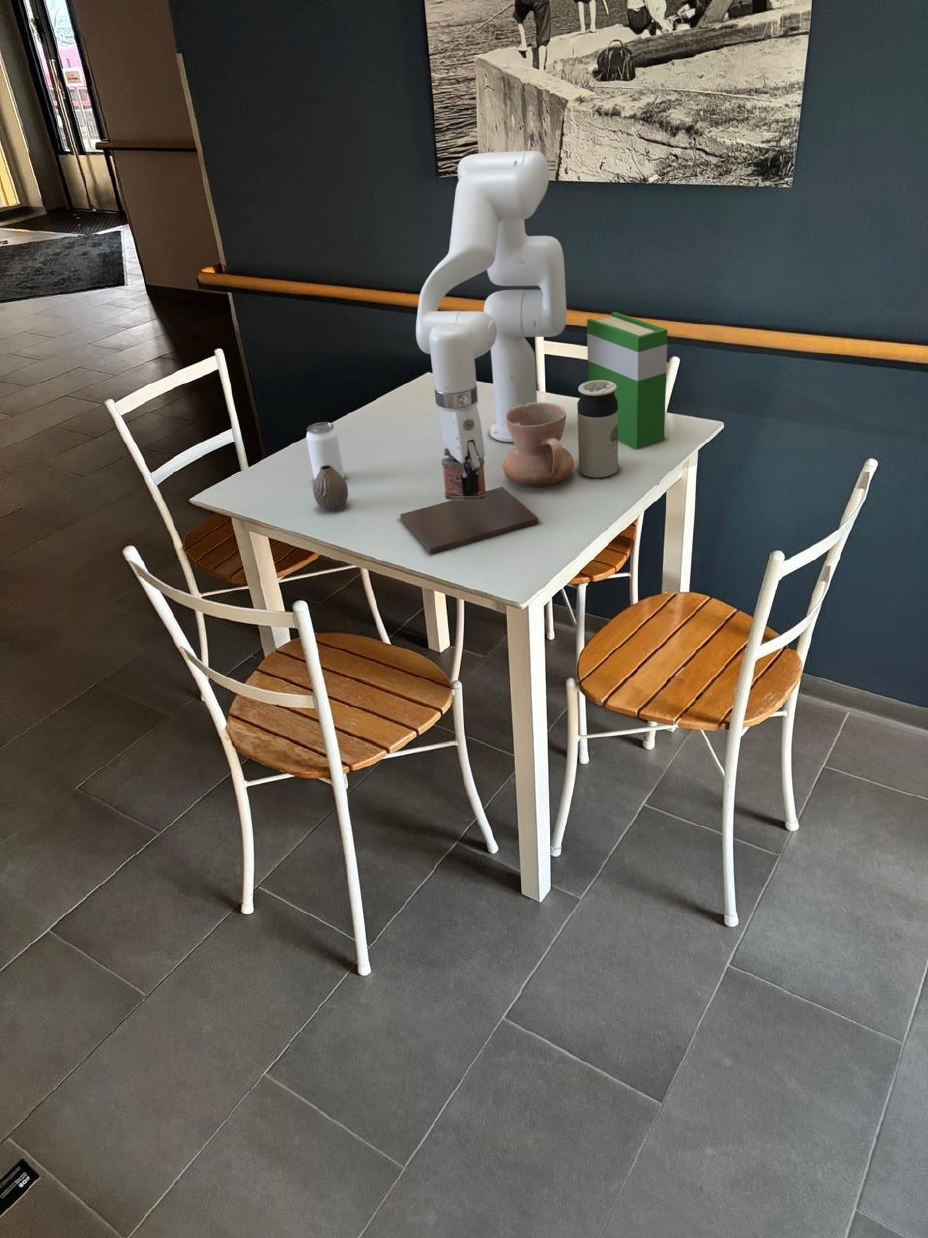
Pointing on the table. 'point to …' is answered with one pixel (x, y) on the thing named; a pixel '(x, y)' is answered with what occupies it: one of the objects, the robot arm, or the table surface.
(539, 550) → the table surface
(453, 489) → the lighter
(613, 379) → the hardback book
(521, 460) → the ceramic jug
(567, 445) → the table surface
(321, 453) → the can
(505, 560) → the table surface
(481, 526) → the walnut board
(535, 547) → the table surface
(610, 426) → the travel mug
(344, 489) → the vase
